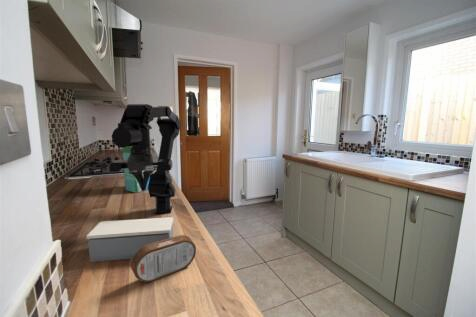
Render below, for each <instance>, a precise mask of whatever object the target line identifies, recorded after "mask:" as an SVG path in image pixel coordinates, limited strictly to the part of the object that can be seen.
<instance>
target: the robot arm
mask: <svg viewBox="0 0 476 317" xmlns="http://www.w3.org/2000/svg"><path fill="white" fill-rule="evenodd" d="M163 117H165V118H163ZM166 117H167V118H166ZM154 118H156V119H157V120H156V124H157V126H158V131H159V134H160V135H161V142H160V147H159V153H158V158H157V159H158V160H157V161H153V160H154V159H153V155H152V153H151V152H152V150H151V137H150V136H151V132H150V130H152V128H153V127H152V125H150V122H153V121H154ZM181 128H182V122H181V120H180V118H179V116H178V115H177V114H176V113H175V112H173V110H172V109H171V107H170V106H167V105H158V106H153V105H151V104H148V103H129V104H127V105H126V108H124V111H123V113H122V116H121V119H120V121H119V122H118V123H117V127H116V128H115V129H114V130H112V131H113V132H112V133H111V134H112V135H111V139H112V140H111V141H112V142H113V143H114V145H115V146H116V147H117V148H118V147H119V148H124V147H128V146H131V153H130V156H129V158H128V160H127V161H126V160H123V159H115V160H112V161H110V163H108V172H109V173H116V172H120V171H122V169H124V168H128V170H129V174H133V175H134V176H135V178H136V179H137V181H138V183H139V185H140V188H141V190H142V191H141V192H145V191H146V190H145V189H146V186H147V182H148V179H149V176H150V180H149V183H148V189H147V190H148V194H149V197H150V198H155V201H154V202H155V209H154V211H153V214H156V215H157V214H170V213H172V210H173V205H171V202H172V201H171V199H172V198H174V197H175V196H176V188H175V187H174V185H173V182H172V181H173V180H172V177H171V175H170V171H171V170H172V169H173V160H172V154H173V148H174V141H175V140H176V138H177V137H178V136H179V134H180V130H181ZM142 171H143V172H142Z"/></svg>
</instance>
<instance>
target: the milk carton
mask: <svg viewBox="0 0 476 317" xmlns="http://www.w3.org/2000/svg"><path fill="white" fill-rule="evenodd" d="M121 150H122V160H126V161H127V160H128V158H129V156H130V153H131V146H128V147H124V148H122V149H121ZM142 172H143V171H142ZM123 174H124V188H125V191H127V192H131V193H132V192H133V193H136V194H137V193H141V192H143V191H142V190H141V188H140V185H139V183H138V181H137V179H136V178H135V176H134V175H133V174H129V170H128V168H123ZM149 180H150V176H149V179H148V182H147V186H146V189H145V191H147V190H148V183H149Z"/></svg>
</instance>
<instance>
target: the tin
mask: <svg viewBox="0 0 476 317" xmlns="http://www.w3.org/2000/svg"><path fill="white" fill-rule="evenodd" d="M196 253H197V247H196V245H195V242H194V241H193V239H191V237H189V236H188V235H185V234H180V235H175V236H173V237H172V238H168V239H165V240H162V241H158V242H154V243H151V244H148V245H145V246H144V247H142V248H141V249H139V250H138V251H137V252H136V254H135V255H134V257H133V258H131V259H132V260H131V264H130V268H131V271H132V273H133V275H134V277H135V278H136V279H137V280H139V281H141V282H143V283H148V282H153V281H155V280H158V279H161V278H164V277H167V276H170V275H172V274H175V273H177V272H179V271H182V270H184V269H186V268H187V267H189V266H190V265H191V263H193V261H194V259H195V258H196Z"/></svg>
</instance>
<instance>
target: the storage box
mask: <svg viewBox="0 0 476 317" xmlns="http://www.w3.org/2000/svg"><path fill="white" fill-rule="evenodd" d="M173 223H174V222H173ZM173 223H172V227H171V231H170V233H161V234H147V235H133V236H120V237H106V238H92V239H87V244H88V254H89V262H90V263H94V262H105V261H115V260H116V261H117V260H125V259H126V260H128V259H133V257H134V255H135V254H136V252H137V251H138V250H139V249H141V248H142V247H144V246H145V245H148V244H151V243H154V242H158V241H162V240H165V239H168V238H172V237H174V227H173V226H174V224H173Z"/></svg>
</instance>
